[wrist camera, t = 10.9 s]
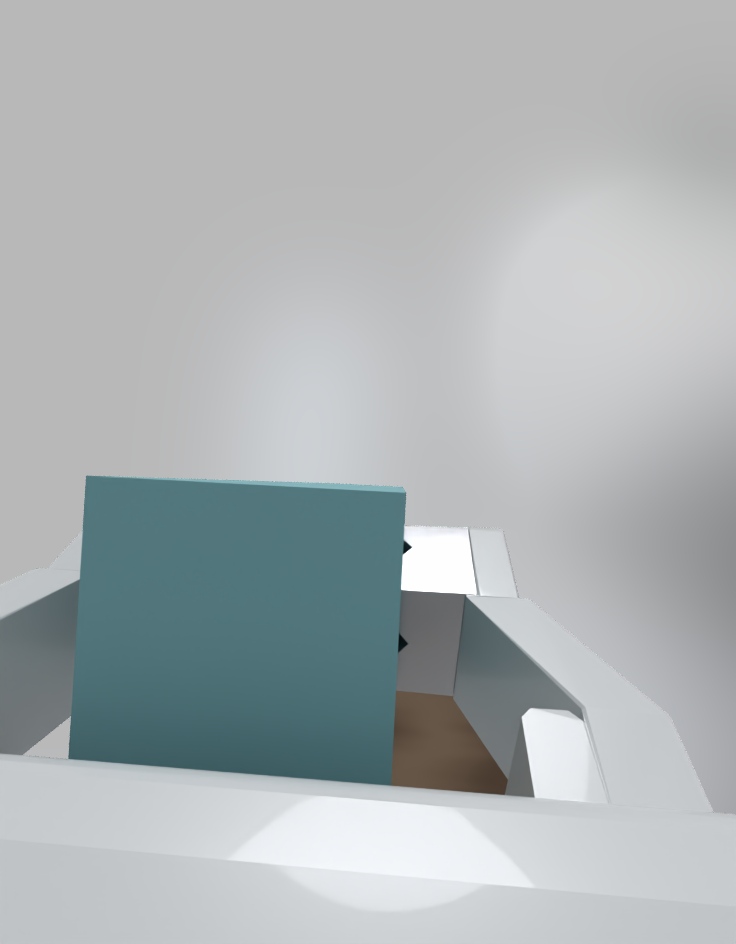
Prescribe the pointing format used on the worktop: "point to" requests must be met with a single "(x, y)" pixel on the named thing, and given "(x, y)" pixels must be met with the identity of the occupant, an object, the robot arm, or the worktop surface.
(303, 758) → the teal bar
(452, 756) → the walnut stand
